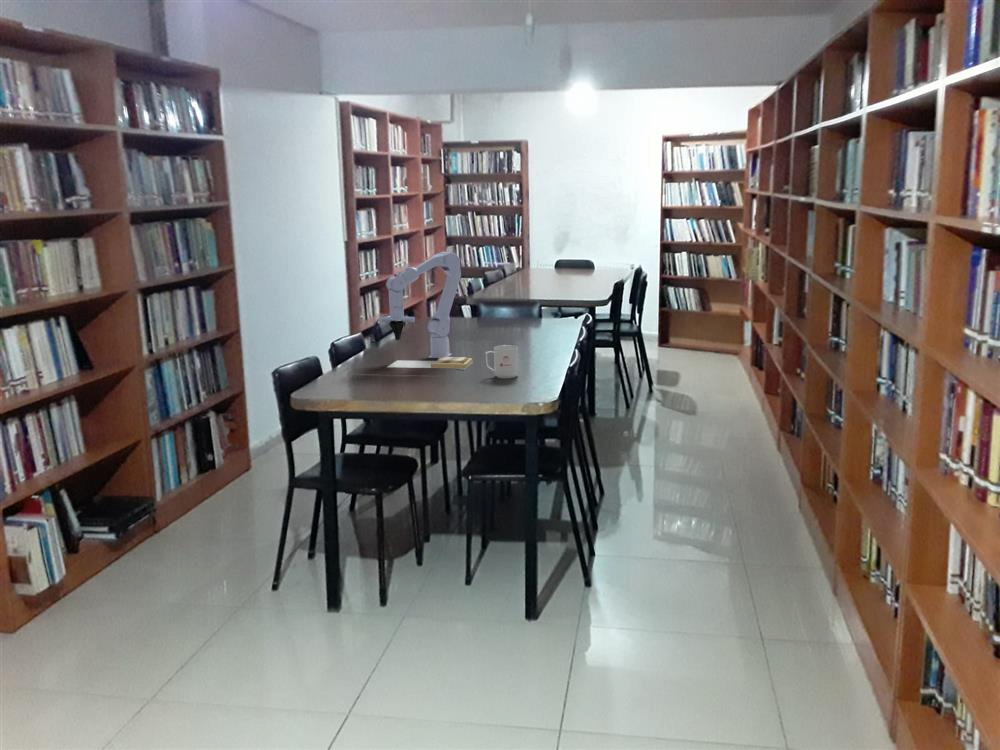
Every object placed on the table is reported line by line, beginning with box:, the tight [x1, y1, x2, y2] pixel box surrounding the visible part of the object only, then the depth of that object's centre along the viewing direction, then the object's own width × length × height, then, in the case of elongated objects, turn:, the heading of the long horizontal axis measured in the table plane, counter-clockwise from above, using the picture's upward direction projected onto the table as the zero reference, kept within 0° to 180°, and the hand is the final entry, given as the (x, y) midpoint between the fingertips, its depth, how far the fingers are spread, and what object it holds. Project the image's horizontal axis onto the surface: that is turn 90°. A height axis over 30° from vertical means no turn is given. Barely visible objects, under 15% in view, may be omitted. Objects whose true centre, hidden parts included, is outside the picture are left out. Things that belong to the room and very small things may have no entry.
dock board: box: [387, 357, 474, 371], centre depth 352 cm, size 14×32×2 cm, turn 79°
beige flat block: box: [436, 356, 467, 364], centre depth 350 cm, size 10×7×2 cm
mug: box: [485, 344, 519, 379], centre depth 327 cm, size 12×9×11 cm
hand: (398, 339), depth 359 cm, fingers closed
